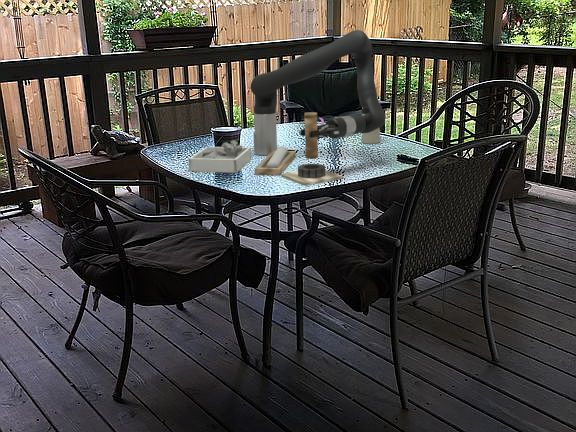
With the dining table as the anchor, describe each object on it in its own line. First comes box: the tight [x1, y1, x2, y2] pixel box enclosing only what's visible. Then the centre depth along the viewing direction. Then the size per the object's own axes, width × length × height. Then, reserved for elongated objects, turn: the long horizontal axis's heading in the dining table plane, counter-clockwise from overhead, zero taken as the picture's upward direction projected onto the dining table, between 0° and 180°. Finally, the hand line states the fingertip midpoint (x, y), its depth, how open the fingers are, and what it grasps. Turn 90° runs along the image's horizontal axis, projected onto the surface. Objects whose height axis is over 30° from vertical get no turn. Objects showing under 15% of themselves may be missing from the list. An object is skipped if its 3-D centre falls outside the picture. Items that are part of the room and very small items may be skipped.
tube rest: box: [254, 150, 297, 176], centre depth 259 cm, size 10×31×2 cm, turn 168°
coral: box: [201, 139, 243, 159], centre depth 259 cm, size 17×14×10 cm
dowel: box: [304, 111, 319, 160], centre depth 236 cm, size 4×4×16 cm
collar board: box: [280, 163, 343, 186], centre depth 240 cm, size 16×16×4 cm
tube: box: [266, 146, 289, 168], centre depth 260 cm, size 5×5×25 cm
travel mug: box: [361, 102, 381, 145], centre depth 294 cm, size 8×8×18 cm
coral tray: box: [187, 146, 252, 174], centre depth 262 cm, size 19×22×5 cm
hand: (305, 133), depth 234 cm, fingers closed on dowel, 4 cm apart
